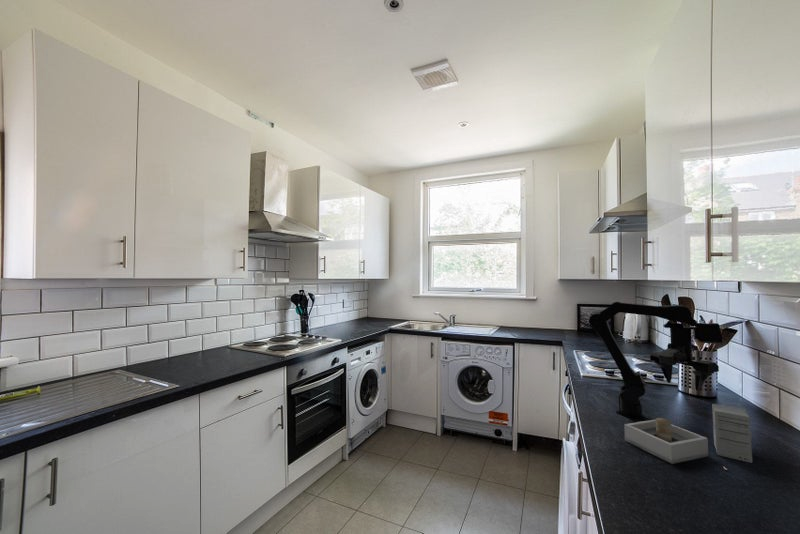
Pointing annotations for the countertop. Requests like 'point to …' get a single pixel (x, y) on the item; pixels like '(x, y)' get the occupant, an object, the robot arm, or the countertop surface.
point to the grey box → (673, 452)
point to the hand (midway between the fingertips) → (682, 386)
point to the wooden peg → (663, 429)
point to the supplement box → (732, 432)
